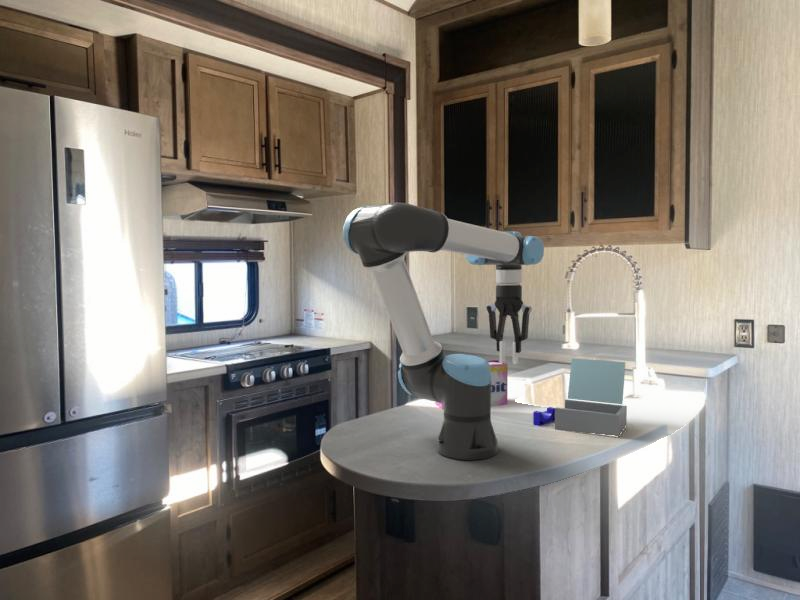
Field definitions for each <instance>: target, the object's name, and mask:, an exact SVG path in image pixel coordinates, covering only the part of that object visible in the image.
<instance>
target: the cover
mask: <svg viewBox="0 0 800 600" xmlns="http://www.w3.org/2000/svg"><path fill="white" fill-rule="evenodd" d="M570 362H571V363H570V371H569V381H568V382H569V383H568V392H567V393H568V394H567V400H576V401H585V402H595V403H604V404H613V405H623V401H624V399H623V398H624V389H625V387H624V386H625V376H626V375H625V374H626V373H625V372H626V362H625V361H614V360H599V359H586V358H573V357H572V358H571V360H570Z"/></svg>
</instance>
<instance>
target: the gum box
mask: <svg viewBox="0 0 800 600" xmlns="http://www.w3.org/2000/svg"><path fill="white" fill-rule="evenodd" d="M486 361H487V362H488V363H489V365H490V374H491V407H492V406H503V405H505V406H507V405H508V372H509V371H508V367H509V365H508V363H506V362H504V363H500V359H499V360H498V359H491V360H486ZM434 402H435V401H434ZM434 404H436V406H438V407H439V408H440V409H442V410H444V404H442V403H438V402H435V403H434Z"/></svg>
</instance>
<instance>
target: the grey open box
mask: <svg viewBox="0 0 800 600" xmlns="http://www.w3.org/2000/svg"><path fill="white" fill-rule="evenodd" d="M554 408H555V421H554V430H556V429H557V431H558V430H559V431H564V430H565V432H571V431H575V432H574V433H579V432H585V433H584V434H586V433H595V434H605V435H615V436H619V435H620V433H621V432H622V431H623V429H624V428H625V426H626V427H627V419H628V418H627V412H628V411H627V410H628V409H627V408H628V405H623V404H614V403H605V402H595V401H586V400H576V399H568V398H567V399H565V400H564V407H558V406H557V407H554ZM625 429H626V428H625ZM623 432H624V431H623ZM623 432H622V433H623ZM620 436H621V435H620Z"/></svg>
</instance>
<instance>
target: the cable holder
mask: <svg viewBox="0 0 800 600" xmlns="http://www.w3.org/2000/svg"><path fill="white" fill-rule="evenodd" d="M555 408H556V407H552V406H548V407H546V410H545V411H539V410H535V411H532V413H533V414H532V417H533V418H532V420H533V425H534V426H537V427H540V426H543V425H544V426H545V425H547V424H550V423H553V422H554V423H555Z"/></svg>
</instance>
